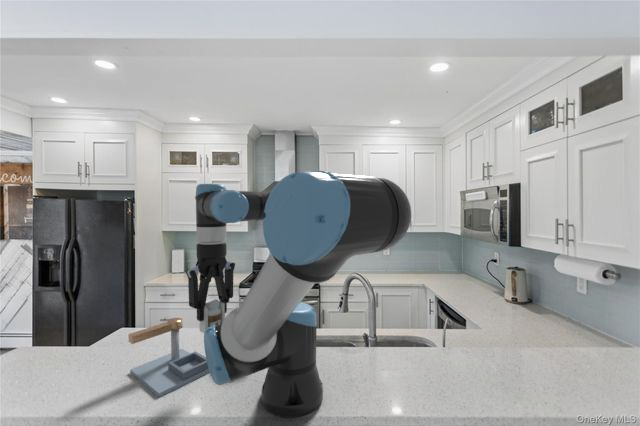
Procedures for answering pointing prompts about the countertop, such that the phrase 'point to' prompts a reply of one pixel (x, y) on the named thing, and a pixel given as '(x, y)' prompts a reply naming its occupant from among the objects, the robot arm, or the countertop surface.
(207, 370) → the board
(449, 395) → the countertop surface
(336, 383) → the countertop surface
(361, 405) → the countertop surface
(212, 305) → the pill bottle
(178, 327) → the lever
